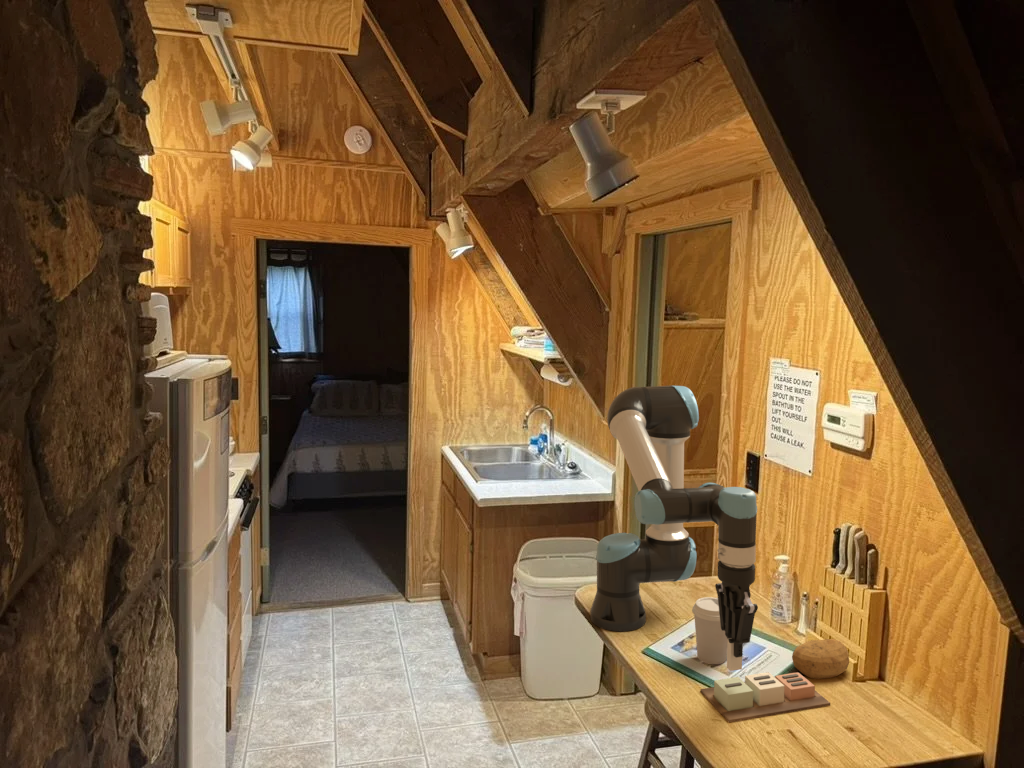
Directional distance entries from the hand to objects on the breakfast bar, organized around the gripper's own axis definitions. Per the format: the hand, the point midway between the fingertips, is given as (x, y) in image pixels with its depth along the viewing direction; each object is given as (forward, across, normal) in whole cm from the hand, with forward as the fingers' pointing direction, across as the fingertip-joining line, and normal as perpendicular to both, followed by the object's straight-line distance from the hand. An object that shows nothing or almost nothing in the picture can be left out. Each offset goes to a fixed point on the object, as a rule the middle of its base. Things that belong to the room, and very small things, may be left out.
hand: (734, 668), depth 152 cm
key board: (+10, 0, +8) cm, 12 cm away
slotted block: (+8, 0, 0) cm, 8 cm away
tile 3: (+9, 0, +15) cm, 18 cm away
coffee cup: (+10, -19, +6) cm, 22 cm away
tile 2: (+8, 0, +8) cm, 11 cm away
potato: (+10, -7, +26) cm, 29 cm away
